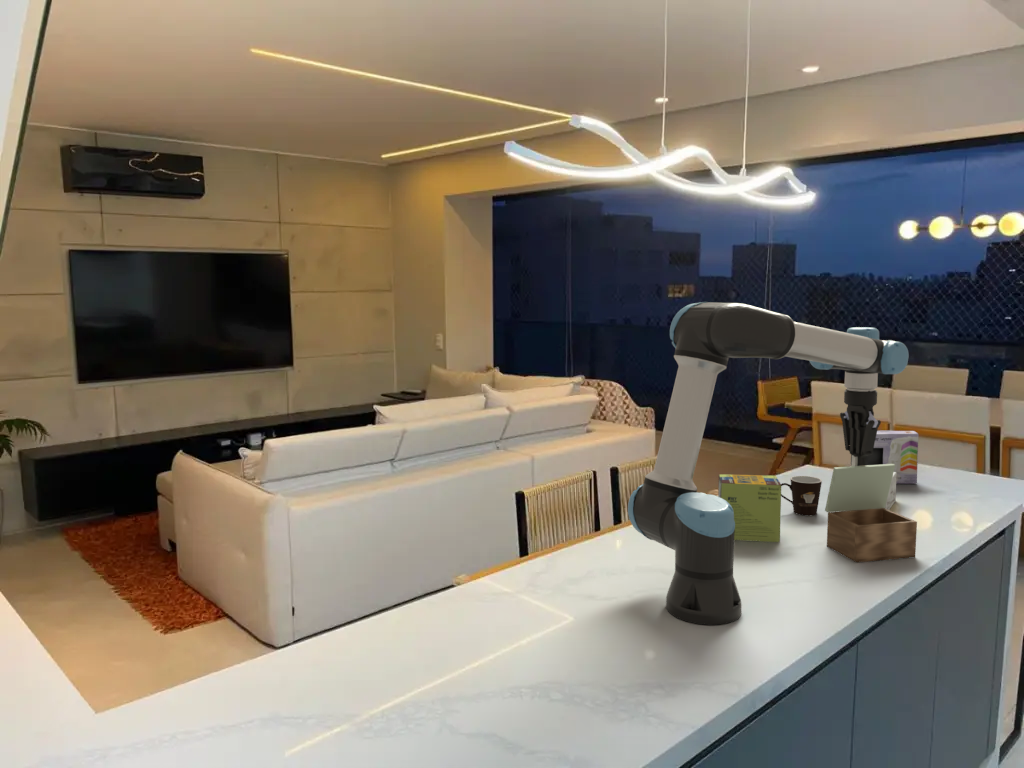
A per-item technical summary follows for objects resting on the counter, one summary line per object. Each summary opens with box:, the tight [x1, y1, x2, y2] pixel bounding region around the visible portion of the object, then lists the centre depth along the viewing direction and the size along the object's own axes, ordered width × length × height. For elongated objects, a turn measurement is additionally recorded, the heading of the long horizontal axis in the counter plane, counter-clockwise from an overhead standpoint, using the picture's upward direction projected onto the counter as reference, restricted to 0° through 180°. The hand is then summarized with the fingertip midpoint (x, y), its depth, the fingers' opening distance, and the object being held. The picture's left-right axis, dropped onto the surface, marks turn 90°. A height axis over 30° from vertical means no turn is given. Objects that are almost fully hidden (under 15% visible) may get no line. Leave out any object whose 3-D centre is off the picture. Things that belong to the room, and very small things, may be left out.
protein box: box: [718, 474, 782, 543], centre depth 200 cm, size 10×15×16 cm
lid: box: [824, 464, 895, 513], centre depth 190 cm, size 17×12×1 cm
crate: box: [826, 508, 918, 564], centre depth 186 cm, size 16×12×9 cm
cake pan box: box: [865, 430, 919, 485], centre depth 252 cm, size 19×5×18 cm, turn 81°
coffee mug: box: [780, 475, 823, 517], centre depth 221 cm, size 12×9×10 cm
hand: (857, 480), depth 190 cm, fingers closed
